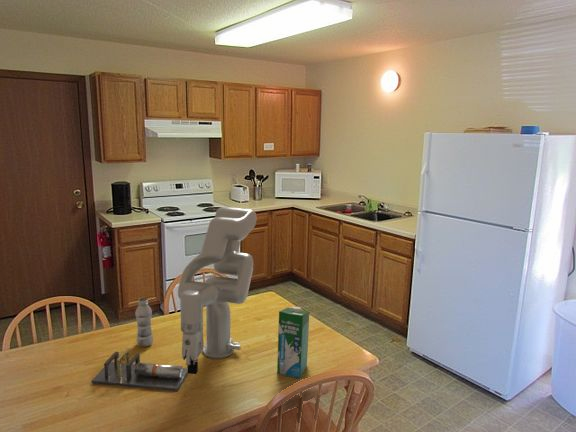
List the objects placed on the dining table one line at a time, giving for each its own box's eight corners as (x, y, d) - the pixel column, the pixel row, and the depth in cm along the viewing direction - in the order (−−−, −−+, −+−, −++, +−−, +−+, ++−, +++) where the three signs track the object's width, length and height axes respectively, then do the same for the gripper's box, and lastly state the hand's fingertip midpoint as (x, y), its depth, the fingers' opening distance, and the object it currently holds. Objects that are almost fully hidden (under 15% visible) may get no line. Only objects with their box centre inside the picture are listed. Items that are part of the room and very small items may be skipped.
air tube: (182, 374, 152) (182, 363, 151) (178, 381, 147) (178, 370, 147) (140, 370, 153) (139, 359, 152) (134, 377, 149) (134, 366, 148)
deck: (189, 371, 156) (188, 368, 155) (177, 391, 144) (177, 388, 144) (109, 364, 158) (109, 361, 158) (91, 383, 147) (91, 380, 146)
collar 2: (140, 367, 155) (139, 353, 154) (130, 380, 147) (129, 365, 146) (136, 367, 155) (136, 353, 154) (126, 380, 147) (126, 365, 146)
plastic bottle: (155, 341, 176) (154, 296, 172) (149, 349, 170) (147, 303, 165) (141, 340, 177) (139, 295, 173) (133, 348, 170) (131, 302, 166)
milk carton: (307, 365, 162) (309, 305, 157) (300, 378, 154) (302, 315, 148) (285, 361, 165) (287, 301, 159) (277, 373, 156) (278, 311, 151)
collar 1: (119, 365, 156) (118, 351, 154) (108, 378, 148) (107, 363, 147) (116, 365, 156) (115, 351, 155) (105, 378, 148) (104, 363, 147)
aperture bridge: (130, 367, 155) (129, 348, 154) (120, 379, 148) (119, 359, 146) (128, 366, 155) (127, 348, 154) (117, 379, 148) (116, 359, 146)
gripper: (195, 336, 137) (196, 386, 141) (208, 316, 152) (208, 362, 156) (173, 334, 138) (174, 384, 142) (188, 314, 152) (189, 360, 156)
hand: (192, 372), depth 149 cm, fingers closed
